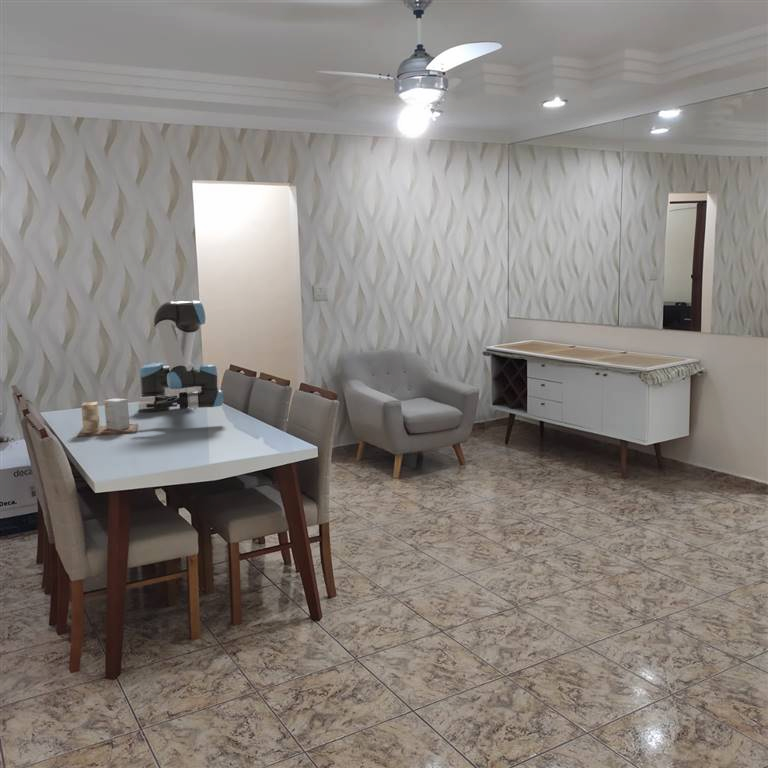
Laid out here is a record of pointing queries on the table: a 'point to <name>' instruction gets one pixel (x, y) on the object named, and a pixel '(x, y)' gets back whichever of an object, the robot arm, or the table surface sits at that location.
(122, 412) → the small box
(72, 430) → the table surface
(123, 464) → the table surface
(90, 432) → the wooden tray with block
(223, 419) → the table surface
